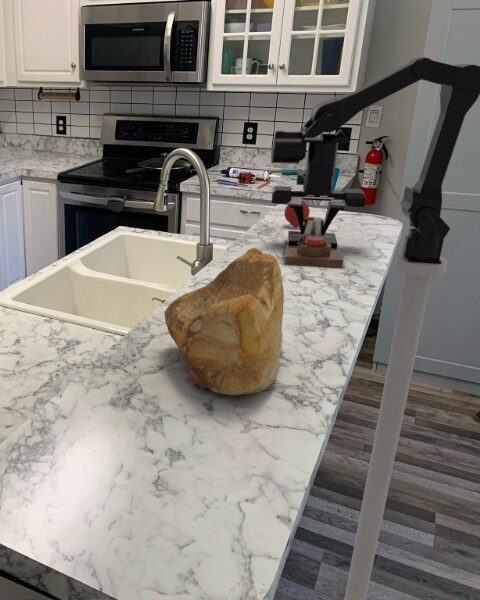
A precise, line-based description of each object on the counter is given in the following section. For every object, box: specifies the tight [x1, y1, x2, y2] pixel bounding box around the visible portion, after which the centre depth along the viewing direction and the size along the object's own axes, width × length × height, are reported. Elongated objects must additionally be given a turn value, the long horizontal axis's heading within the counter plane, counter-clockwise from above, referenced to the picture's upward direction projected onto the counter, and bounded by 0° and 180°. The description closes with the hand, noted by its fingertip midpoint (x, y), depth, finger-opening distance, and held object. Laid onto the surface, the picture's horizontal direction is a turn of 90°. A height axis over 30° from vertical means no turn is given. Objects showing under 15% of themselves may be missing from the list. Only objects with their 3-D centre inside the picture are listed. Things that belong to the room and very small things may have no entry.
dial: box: [303, 216, 325, 238], centre depth 135 cm, size 4×4×4 cm
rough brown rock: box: [164, 247, 285, 396], centre depth 86 cm, size 23×17×15 cm
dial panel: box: [286, 230, 338, 248], centre depth 136 cm, size 10×8×3 cm
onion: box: [284, 200, 310, 228], centre depth 151 cm, size 6×6×8 cm
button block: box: [284, 240, 344, 269], centre depth 128 cm, size 11×8×4 cm
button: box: [305, 236, 324, 247], centre depth 127 cm, size 4×4×2 cm
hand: (312, 234), depth 136 cm, fingers closed on dial, 4 cm apart
